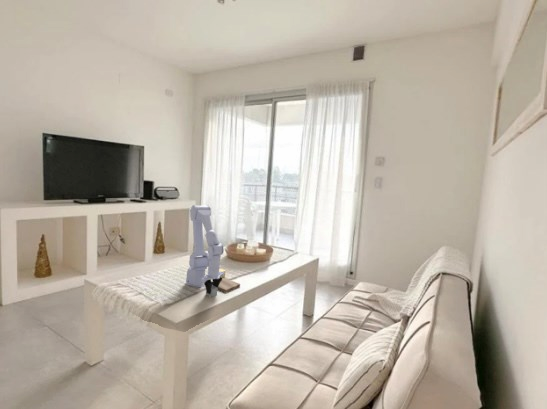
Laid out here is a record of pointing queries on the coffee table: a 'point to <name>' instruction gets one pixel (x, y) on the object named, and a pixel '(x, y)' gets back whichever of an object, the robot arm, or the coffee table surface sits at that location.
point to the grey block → (212, 291)
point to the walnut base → (227, 285)
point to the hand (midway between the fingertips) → (211, 292)
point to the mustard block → (222, 271)
